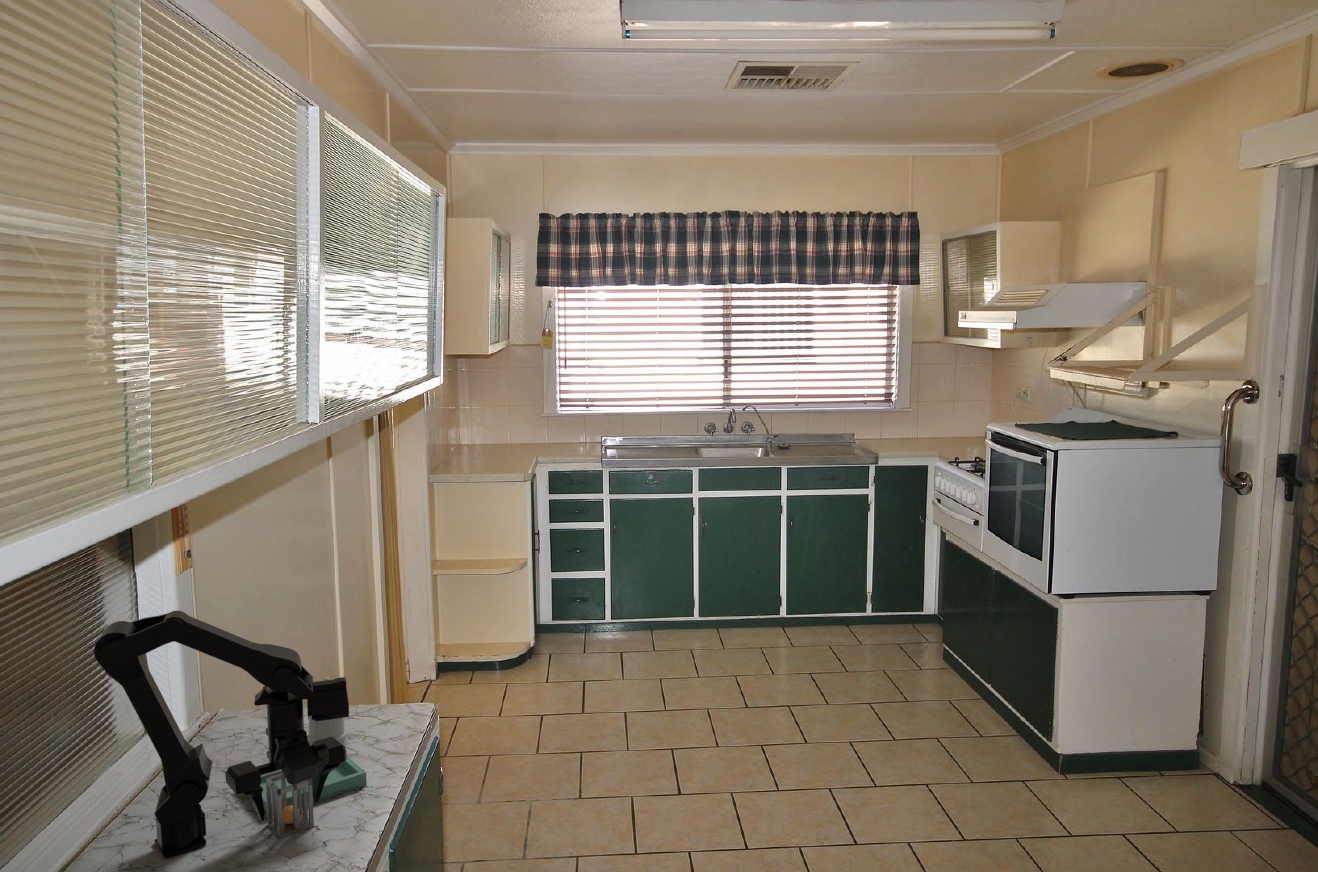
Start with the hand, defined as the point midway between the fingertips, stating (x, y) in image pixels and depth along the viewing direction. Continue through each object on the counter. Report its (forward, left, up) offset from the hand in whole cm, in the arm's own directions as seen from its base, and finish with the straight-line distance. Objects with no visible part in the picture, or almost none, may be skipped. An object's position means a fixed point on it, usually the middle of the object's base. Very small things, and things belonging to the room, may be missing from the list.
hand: (289, 811), depth 164 cm
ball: (0, 0, -1) cm, 1 cm away
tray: (+7, +12, -3) cm, 14 cm away
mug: (+18, +28, -3) cm, 33 cm away
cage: (0, 0, -3) cm, 3 cm away
